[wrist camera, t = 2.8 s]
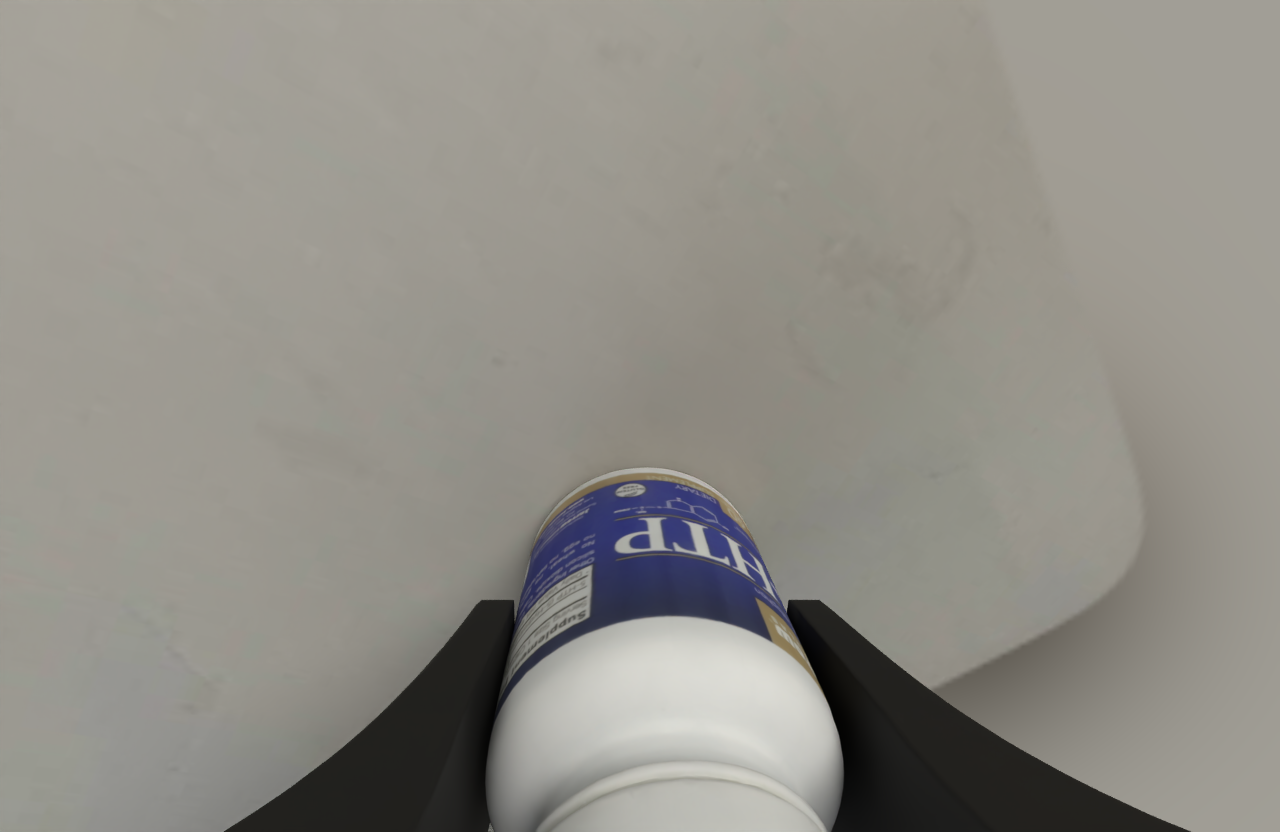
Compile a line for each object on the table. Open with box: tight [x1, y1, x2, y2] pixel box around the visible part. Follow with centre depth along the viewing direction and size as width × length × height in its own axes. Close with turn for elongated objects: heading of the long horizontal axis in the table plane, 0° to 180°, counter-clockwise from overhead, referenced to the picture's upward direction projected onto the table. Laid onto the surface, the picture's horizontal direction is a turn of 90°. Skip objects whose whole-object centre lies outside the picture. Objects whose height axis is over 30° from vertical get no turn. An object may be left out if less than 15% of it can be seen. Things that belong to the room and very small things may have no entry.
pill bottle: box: [485, 467, 844, 832], centre depth 11 cm, size 5×5×9 cm
